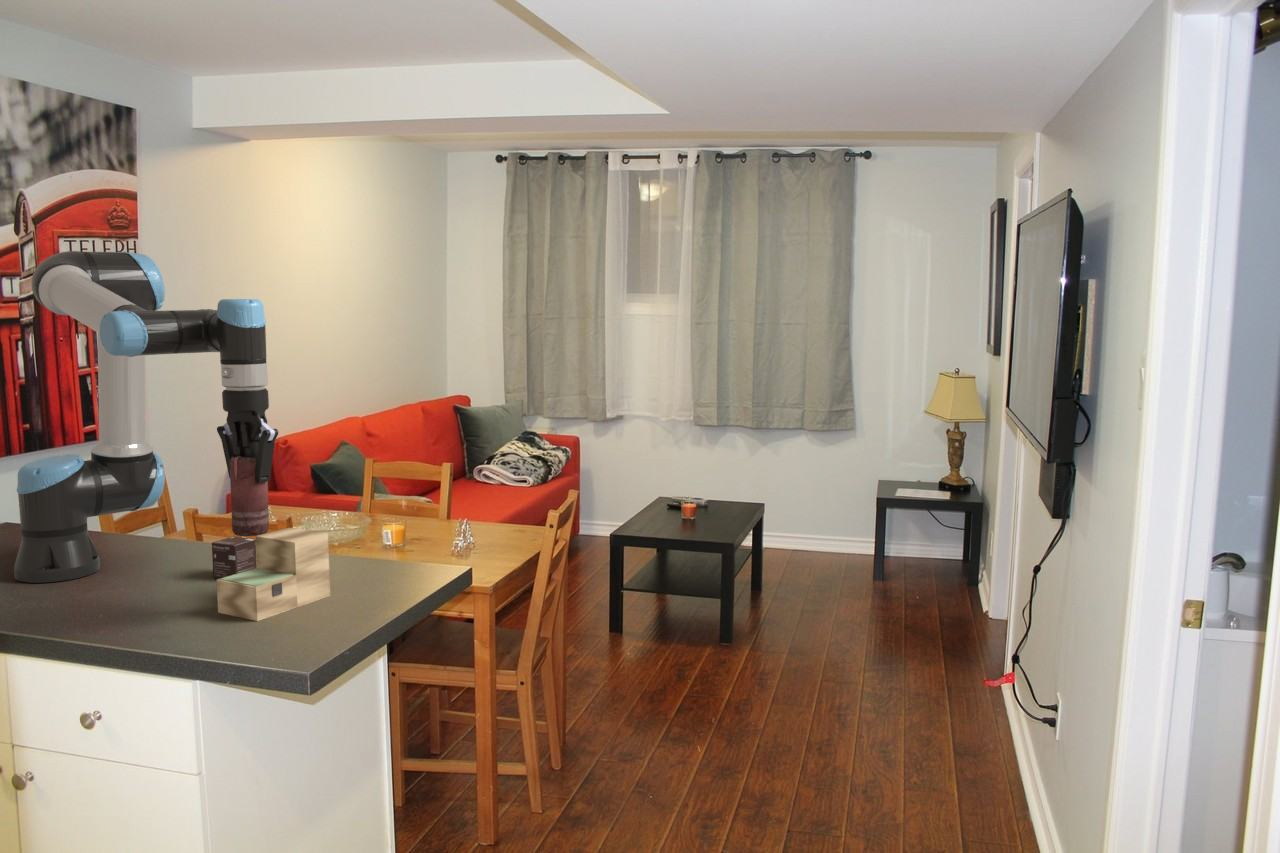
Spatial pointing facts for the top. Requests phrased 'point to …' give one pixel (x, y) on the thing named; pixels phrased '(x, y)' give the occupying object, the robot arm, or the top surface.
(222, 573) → the box
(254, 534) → the can
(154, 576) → the top surface
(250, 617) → the stand
